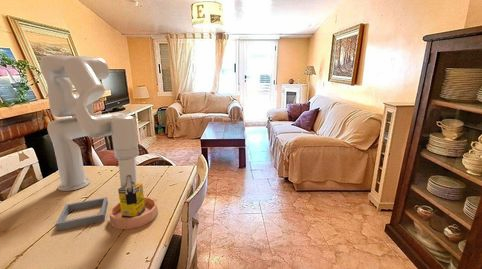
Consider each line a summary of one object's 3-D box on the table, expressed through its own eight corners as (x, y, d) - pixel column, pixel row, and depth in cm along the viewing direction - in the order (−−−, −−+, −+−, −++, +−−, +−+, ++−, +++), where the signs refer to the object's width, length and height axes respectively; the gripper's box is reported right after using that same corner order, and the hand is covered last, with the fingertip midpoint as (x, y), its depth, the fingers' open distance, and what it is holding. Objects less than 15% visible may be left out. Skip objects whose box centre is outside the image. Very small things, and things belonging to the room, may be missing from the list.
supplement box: (136, 218, 87) (133, 190, 84) (121, 217, 88) (117, 189, 86) (145, 209, 93) (142, 182, 90) (131, 208, 94) (127, 181, 91)
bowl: (112, 210, 94) (111, 201, 94) (155, 201, 100) (154, 193, 100) (109, 233, 80) (107, 223, 80) (159, 221, 86) (158, 213, 86)
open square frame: (66, 210, 95) (65, 204, 94) (108, 202, 100) (107, 197, 99) (56, 230, 82) (55, 224, 82) (104, 220, 88) (103, 214, 87)
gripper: (115, 146, 91) (121, 188, 95) (112, 161, 76) (119, 211, 80) (137, 144, 94) (142, 185, 98) (139, 158, 78) (144, 206, 83)
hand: (131, 197), depth 89 cm, fingers open, 9 cm apart
